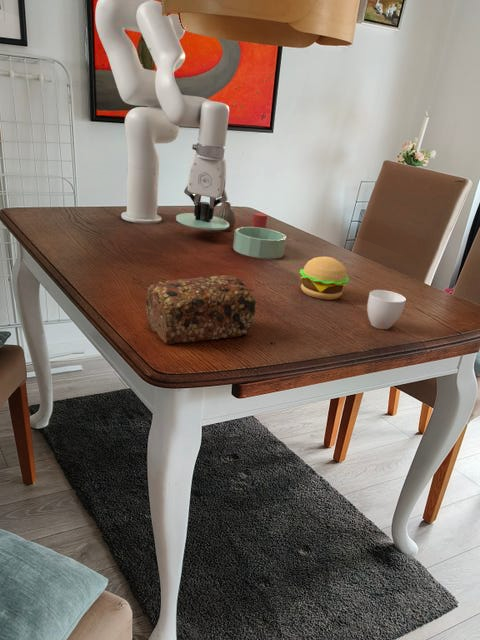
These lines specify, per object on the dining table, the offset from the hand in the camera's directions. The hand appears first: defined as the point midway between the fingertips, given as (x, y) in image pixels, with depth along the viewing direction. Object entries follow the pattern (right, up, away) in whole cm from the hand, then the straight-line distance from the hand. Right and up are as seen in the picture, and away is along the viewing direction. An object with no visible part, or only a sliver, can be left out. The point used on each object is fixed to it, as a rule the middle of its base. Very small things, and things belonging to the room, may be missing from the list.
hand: (203, 219), depth 171 cm
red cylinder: (+16, -1, +13) cm, 21 cm away
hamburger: (+31, -29, -29) cm, 51 cm away
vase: (+6, +1, +15) cm, 16 cm away
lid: (0, -1, 0) cm, 1 cm away
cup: (+41, -38, -42) cm, 71 cm away
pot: (+16, -11, -3) cm, 20 cm away
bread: (+3, -43, -59) cm, 73 cm away
